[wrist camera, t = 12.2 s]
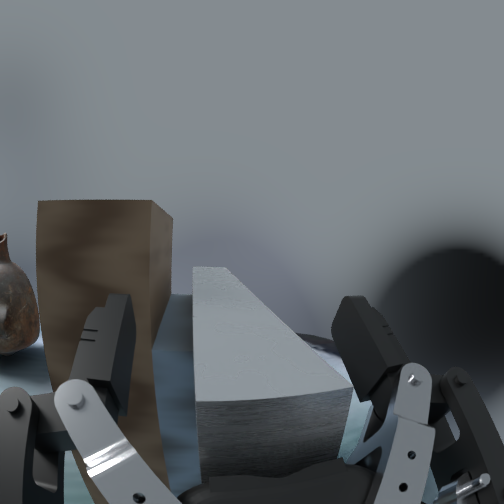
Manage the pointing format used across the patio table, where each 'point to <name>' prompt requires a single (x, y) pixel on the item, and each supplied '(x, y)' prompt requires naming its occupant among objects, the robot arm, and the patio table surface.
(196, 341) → the aluminium bar
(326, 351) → the patio table surface
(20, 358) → the patio table surface
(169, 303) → the display riser
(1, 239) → the jug
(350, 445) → the patio table surface
